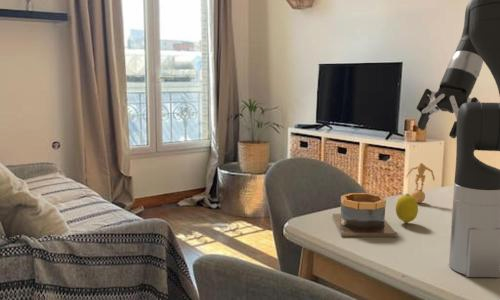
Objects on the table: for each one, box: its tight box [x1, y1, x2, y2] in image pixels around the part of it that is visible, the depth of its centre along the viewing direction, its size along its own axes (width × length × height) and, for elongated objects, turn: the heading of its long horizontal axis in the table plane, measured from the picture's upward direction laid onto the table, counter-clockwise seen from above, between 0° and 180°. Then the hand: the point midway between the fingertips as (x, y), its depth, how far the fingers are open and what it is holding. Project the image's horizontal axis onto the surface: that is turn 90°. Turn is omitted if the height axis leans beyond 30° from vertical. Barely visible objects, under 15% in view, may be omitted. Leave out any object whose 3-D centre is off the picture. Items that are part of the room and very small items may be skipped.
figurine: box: [405, 162, 436, 204], centre depth 149 cm, size 8×6×12 cm
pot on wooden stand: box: [331, 192, 397, 238], centre depth 126 cm, size 16×13×8 cm
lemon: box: [395, 193, 419, 224], centre depth 128 cm, size 6×6×8 cm
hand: (435, 133), depth 122 cm, fingers open, 8 cm apart
